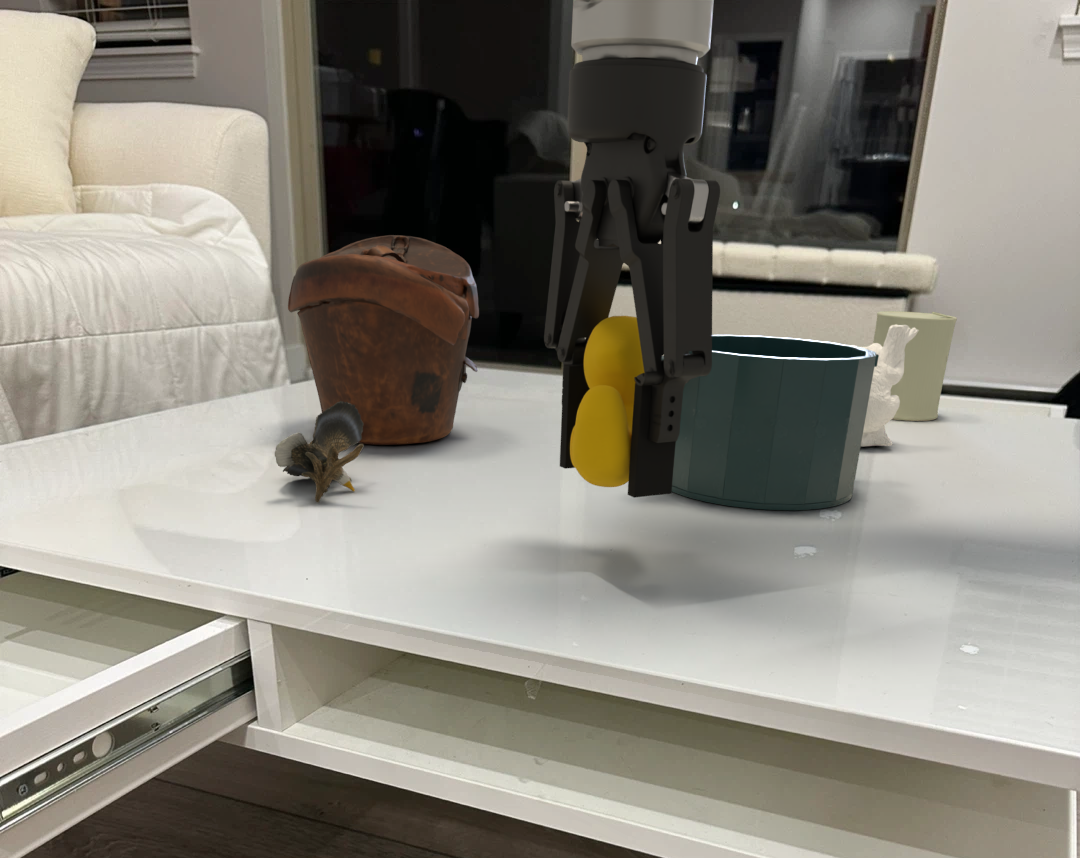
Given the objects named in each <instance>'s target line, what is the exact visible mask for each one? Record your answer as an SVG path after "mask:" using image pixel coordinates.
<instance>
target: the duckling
mask: <svg viewBox="0 0 1080 858" xmlns="http://www.w3.org/2000/svg"><path fill="white" fill-rule="evenodd" d="M584 373H585V378H586V381H587V384H588V386H589V388H590V389H589V390H588V391H587V393H586V394H585V395H584V397H583V399H582V401H581V403H580V405H579V408H578V411H577V416H576V423H575V426H574V428H573V430H572V434H571V440H570V457H571V461H572V464H573V466H574V467H575V468H574V469H576V471H577V473H578V474H579V476H580V477H581V478H582V479H583V480H584V481H585V482H587V483H589V484H591V485H593V486H596V487H601V488H602V487H603V488H618V487H621V486H624V485H625V484H628V481H629V466H630V451H631V436H632V421H633V406H634V391H635V383H636V382H635V379H634V377H637V376H638V375H640V374H642V373H644V366H643V359H642V352H641V345H640V338H639V331H638V324H637V317H636V316H632V315H612V316H609V317H608V318H606V319H604V320H602V321H601V322H600V323H599V324H597V326H596V327H595V328H594V329H593V331H592V332H591V334H590V336H589V338H588V341H587V344H586V348H585V353H584Z"/></svg>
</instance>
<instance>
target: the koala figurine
mask: <svg viewBox="0 0 1080 858" xmlns="http://www.w3.org/2000/svg"><path fill="white" fill-rule="evenodd" d="M918 331H919V330H917V329H916V328H912V329H910V328H909V326H908V325H891V326H890V327H889V330H888V333H887V336H886V339H885V342H884V345H883V347H882V346H881V345H880V344H878V343H874V344H873V343H871V344H869V345H868V346H860V347H861V348H864V349H867V350H871V351H874V352H876V354H878V355H879V357H878V362H877V366H876V367H874V372H873V378H872V383H871V389H870V395H869V401H868V407H867V412H866V418H865V424H864V430H863V436H862V441H861V447H860V448H863V447H875V446H877V447H878V446H879V447H890V446H893V442H892V440H891V438H890V437H889V436H888V434H887V432H886V427H885V426H886V425H887V424H889V422H891V420H894V419H893V418H894V416H895V414H896V412H897V410H898V408H899V405H900V400H899V396H897V395H891V388H892V385H895V384H897V383H898V382H899V381H900V379H901V378H902V376H903V374H904V357H905V351H904V349H905V346H906V344H907V343H908V342H909V341H910V340H912V339H913V338H914V337H915V336H916V334H917V332H918ZM850 346H856V347H859V346H858V345H856V344H851V345H850Z"/></svg>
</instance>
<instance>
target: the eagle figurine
mask: <svg viewBox="0 0 1080 858" xmlns="http://www.w3.org/2000/svg"><path fill="white" fill-rule="evenodd" d="M363 425H364V423H363V422H362V420H361V415H360V414H359V413H358V410H357V409H356V408H355V405H351V403H348V402H344V401H343V402H342V401H340V402H337V403H336V404H334V405H333V406H331V407H330V408H328V409H326V410H325V411H324V412H323V413H322V412H320V413H319V414H318V415H317V416H316V417H315V423H314V428H313V429H314V430H313V435H312V440H311V441H310V442H309V443H308V441H307V439H306V438H305V435H304V434H303V433H301V432H295V433H292V434H291V435H289V436H287V437H286V438H284V439H282V440H280V442H279V443H278V444H277V445H276V447H275V451H274V457H275V462H276V465H277V466H278V467H281V468H283V469H282V473H284V472H286V474H287V475H289V476H293V477H303V478H309V479H311V480H312V481H313V482H314V484H315V496H314V501H315V503H320V501H321V499H322V498H323V497H324V494H326V493H327V492H328V488H331V483H332V481H335V482H336V483H338V484H339V485H341V486H343V487H346V488H348V489H349V490H350V491H351V492H355V491H356V490H355V488H354V486H353V483H352V478H351V477H350V475H349V474H348V473H347V471H345V470H344V468H343V467H344V466H346V465H347V464H349V463H351V462H352V461H355V459H357V458H358V457H359V455H360V454H361V452H362V450H363V448H364V445H365V444H361V443H358V442H359V441H360V440H361V439H362V436H361V433H362V432H363ZM356 444H358V445H357V446H355V445H356ZM351 446H355V448H354V449H353V450H352V451H350V452H349V453H347V454H346V455H345V456H343V457H341V458H339V454H340V453H342V452H344V451H347V450H348V449H349V448H350V447H351Z"/></svg>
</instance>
